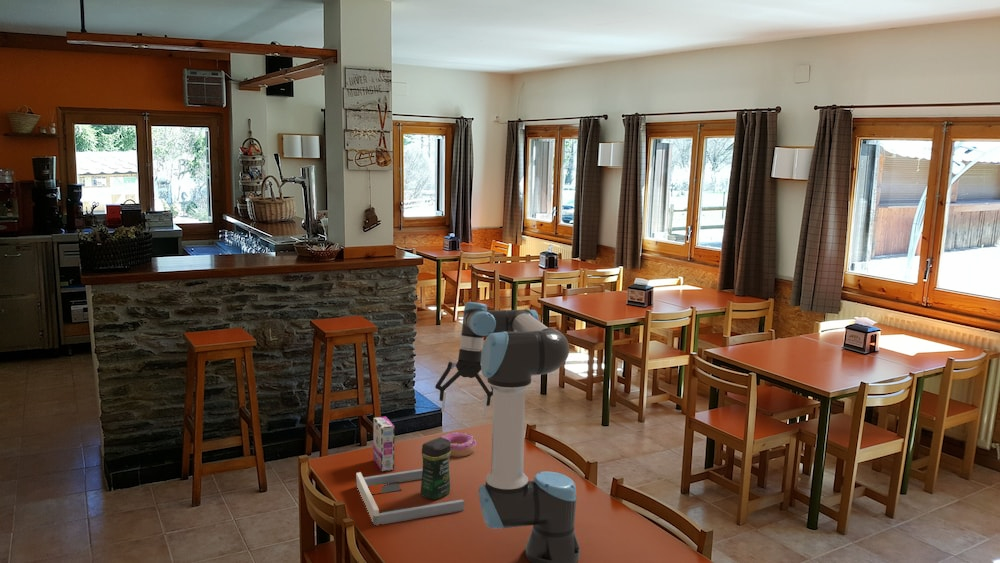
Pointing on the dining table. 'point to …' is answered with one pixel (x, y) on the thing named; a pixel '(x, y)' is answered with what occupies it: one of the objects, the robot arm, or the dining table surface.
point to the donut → (461, 444)
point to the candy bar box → (383, 443)
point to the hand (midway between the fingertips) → (463, 413)
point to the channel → (403, 513)
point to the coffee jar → (436, 468)
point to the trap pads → (391, 488)
